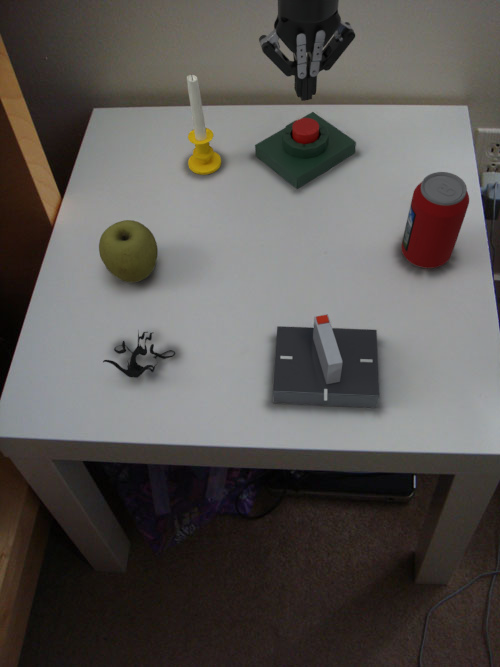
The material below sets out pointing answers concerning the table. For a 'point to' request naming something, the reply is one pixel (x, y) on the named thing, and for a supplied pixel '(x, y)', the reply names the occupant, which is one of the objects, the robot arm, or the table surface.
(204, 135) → the candle
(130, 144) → the table surface
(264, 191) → the table surface
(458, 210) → the beverage can
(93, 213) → the table surface
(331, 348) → the tap handle
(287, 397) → the plate
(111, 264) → the apple
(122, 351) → the creature
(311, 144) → the button box
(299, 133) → the red button
